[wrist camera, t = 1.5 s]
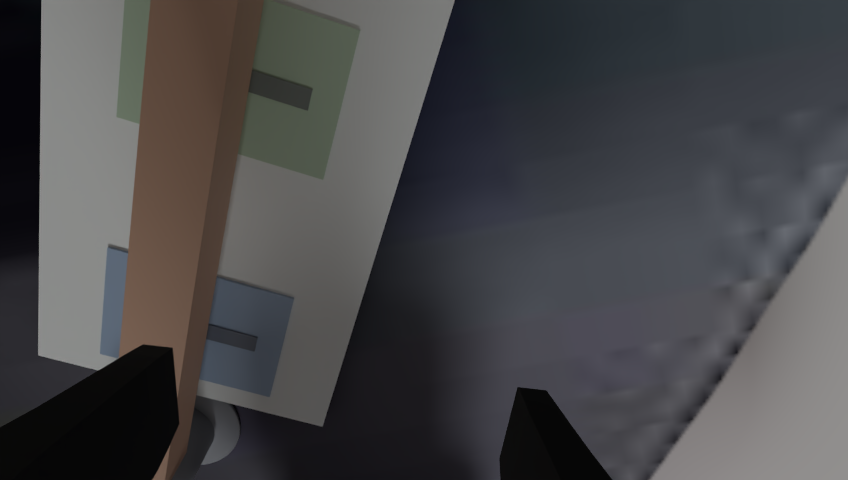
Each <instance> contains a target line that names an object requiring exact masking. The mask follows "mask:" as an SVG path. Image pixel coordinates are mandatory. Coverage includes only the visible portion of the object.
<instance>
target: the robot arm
mask: <svg viewBox="0 0 848 480" xmlns="http://www.w3.org/2000/svg"><path fill="white" fill-rule="evenodd" d="M179 424H180V423H179V412H178V400H177V389H176V378H175V367H174V355H173V348H172V347H163V346H154V345H145V344H143V345H141V346H139V347H137V348H135V349H134V350H132V351H130V352H128V353H127V354H125V355H123V356H122V357H120V358H118V359H117V360H115V361H113V362H112V363H110V364H108V365H107V366H105V367H103V368H102V369H100V370H98V371H97V372H95V373H94V374H92V375H90V376H89V377H87V378H85V379H84V380H82V381H80V382H79V383H77V384H75V385H74V386H72V387H70V388H69V389H67V390H65V391H64V392H62V393H60V394H59V395H57V396H55V397H53V398H52V399H50V400H48V401H47V402H45V403H43V404H42V405H40V406H38V407H37V408H35V409H33V410H31V411H29V412H27V413H26V414H24V415H22V416H20V417H18V418H17V419H15V420H13V421H11V422H9V423H7V424H6V425H4V426H2V427H0V480H152V479H153V478H154V476H155V474H156V473H157V471H158V469H159V467H160V465H161V463H162V461H163V459H164V457H165V455H166V452H167V450H168V448H169V446H170V444H171V442H172V439H173V437H174V435H175V433H176V430H177V428H178V426H179ZM500 476H501V480H612V479H611V477H610V476H609V475H608V474H607V472H606V471H605V470H604V468H603V467H602V466H601V465H600V463H599V462H598V461H597V459H596V458H595V457H594V456H593V454H592V453H591V452H590V450H589V449H588V448H587V446H586V445H585V444H584V442H583V441H582V439H581V438H580V437H579V435H578V434H577V433H576V431H575V430H574V428H573V427H572V426H571V424H570V423H569V421H568V420H567V419H566V417H565V416H564V414H563V413H562V412H561V410H560V409H559V407H558V406H557V405H556V403H555V402H554V400H553V399H552V398H551V396H550V395H549V394H548V392H547V391H546V390H538V389H529V388H520V387H518V388H517V392H516V396H515V400H514V404H513V408H512V411H511V415H510V419H509V423H508V427H507V431H506V435H505V439H504V443H503V447H502V451H501V455H500Z"/></svg>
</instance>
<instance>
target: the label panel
mask: <svg viewBox="0 0 848 480" xmlns="http://www.w3.org/2000/svg"><path fill="white" fill-rule="evenodd" d="M454 1H455V0H264V3H263V9H262V15H261V21H260V26H259V32H258V38H257V44H256V50H255V56H254V61H253V67H252V73H251V79H250V85H249V91H248V96H247V102H246V108H245V114H244V120H243V126H242V131H241V137H240V143H239V149H238V155H237V161H236V166H235V172H234V178H233V184H232V190H231V196H230V202H229V207H228V213H227V219H226V225H225V231H224V237H223V242H222V248H221V254H220V260H219V266H218V272H217V277H216V283H215V289H214V295H213V301H212V307H211V312H210V318H209V324H208V330H207V336H206V342H205V347H204V353H203V359H202V365H201V371H200V377H199V383H198V388H197V394H196V400H195V406H194V408H195V409H197V410H199V411H200V412H202V413H203V414H204V415H205V416H206V417H207V418H208V419H209V420H210V422H211V423H212V425H213V428H214V434H215V435H214V440H213V442H212V444H211V446H210V448H209V450H208V452H207V454H206V456H205V458H204V460H203V462H202V464H201V465H204V464H209V463H213V462H216V461H218V460H221V459H223V458H224V457H226V456H227V455H228V454H229V453H230V452H231V451H232V450H233V449H234V448H235V446H236V444H237V442H238V440H239V436H240V431H241V424H240V419H239V416H238V414H237V412H236V410H235V408H234V407H233V405H232V404H234V405H238V406H242V407H246V408H250V409H254V410H258V411H262V412H266V413H270V414H274V415H278V416H282V417H286V418H290V419H293V420H297V421H301V422H305V423H309V424H313V425H317V426H321V427H323V424H324V421H325V417H326V414H327V411H328V408H329V404H330V401H331V398H332V395H333V392H334V388H335V385H336V382H337V379H338V375H339V372H340V369H341V366H342V362H343V359H344V356H345V353H346V350H347V346H348V343H349V340H350V337H351V333H352V330H353V327H354V324H355V321H356V317H357V314H358V311H359V308H360V304H361V301H362V298H363V295H364V291H365V288H366V285H367V282H368V279H369V275H370V272H371V269H372V266H373V262H374V259H375V256H376V253H377V250H378V246H379V243H380V240H381V237H382V233H383V230H384V227H385V224H386V221H387V217H388V214H389V211H390V208H391V204H392V201H393V198H394V195H395V191H396V188H397V185H398V182H399V179H400V175H401V172H402V169H403V166H404V162H405V159H406V156H407V153H408V150H409V146H410V143H411V140H412V137H413V133H414V130H415V127H416V124H417V121H418V117H419V114H420V111H421V108H422V104H423V101H424V98H425V95H426V91H427V88H428V85H429V82H430V79H431V75H432V72H433V69H434V66H435V62H436V59H437V56H438V53H439V50H440V46H441V43H442V40H443V37H444V33H445V30H446V27H447V24H448V20H449V17H450V14H451V11H452V8H453V4H454ZM149 11H150V0H42V9H41V113H40V217H39V321H38V355H39V356H43V357H47V358H51V359H55V360H59V361H63V362H67V363H71V364H75V365H79V366H83V367H87V368H91V369H95V370H100V369H102V368H103V367H105V366H107V365H108V364H110V363H112V362H113V361H115V360H117V359H118V358H119V349H120V338H121V327H122V315H123V304H124V293H125V282H126V270H127V259H128V248H129V237H130V225H131V214H132V203H133V191H134V180H135V169H136V158H137V146H138V135H139V124H140V113H141V101H142V90H143V79H144V68H145V56H146V45H147V34H148V22H149Z"/></svg>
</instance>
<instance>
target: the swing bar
mask: <svg viewBox="0 0 848 480" xmlns="http://www.w3.org/2000/svg"><path fill="white" fill-rule="evenodd" d="M263 3H264V0H150V11H149V22H148V34H147V45H146V56H145V68H144V79H143V90H142V101H141V113H140V124H139V135H138V146H137V158H136V169H135V180H134V191H133V203H132V214H131V225H130V237H129V248H128V259H127V270H126V282H125V293H124V304H123V315H122V327H121V338H120V349H119V358H120V357H122V356H123V355H125V354H127V353H128V352H130V351H132V350H134V349H135V348H137V347H139V346H141V345H143V344H145V345H154V346H163V347H172V348H173V355H174V367H175V378H176V389H177V400H178V412H179V423H180V424H179V426H178V428H177V430H176V433H175V435H174V437H173V439H172V442H171V444H170V446H169V448H168V450H167V452H166V455H165V457H164V459H163V461H162V463H161V465H160V467H159V469H158V471H157V473H156V474H155V476H154V478H153V479H152V480H193V479H194V477H195V475H196V473H197V471H198V470H199V468H200V466H201V464H202V462H203V460H204V458H205V456H206V454H207V452H208V450H209V448H210V446H211V444H212V442H213V440H214V435H215V434H214V428H213V425H212V423H211V422H210V420H209V419H208V418H207V417H206V416H205V415H204V414H203V413H202V412H200V411H199V410H197V409H195V408H194V406H195V400H196V394H197V388H198V383H199V377H200V371H201V365H202V359H203V353H204V347H205V342H206V336H207V330H208V324H209V318H210V312H211V307H212V301H213V295H214V289H215V283H216V277H217V272H218V266H219V260H220V254H221V248H222V242H223V237H224V231H225V225H226V219H227V213H228V207H229V202H230V196H231V190H232V184H233V178H234V172H235V166H236V161H237V155H238V149H239V143H240V137H241V131H242V126H243V120H244V114H245V108H246V102H247V96H248V91H249V85H250V79H251V73H252V67H253V61H254V56H255V50H256V44H257V38H258V32H259V26H260V21H261V15H262V9H263Z"/></svg>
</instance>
